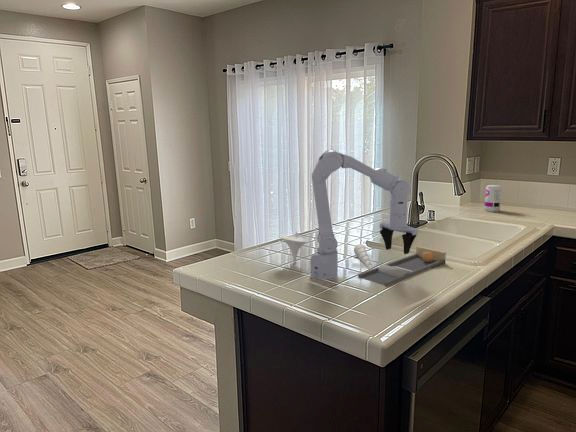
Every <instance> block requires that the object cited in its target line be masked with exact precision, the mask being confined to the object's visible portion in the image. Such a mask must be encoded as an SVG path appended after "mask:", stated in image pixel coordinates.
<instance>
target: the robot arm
mask: <svg viewBox="0 0 576 432" xmlns="http://www.w3.org/2000/svg"><path fill="white" fill-rule="evenodd" d="M341 168H342V169H352V170H354V171H356V172H358V173H360V174H362V175H364V176H366V177H368V178H369V180H370V183H372V184H373V185H375V186H377V187H379V188H381V189H383V190H385V191H387V192H389V193H390V202H389V203H390V204H389V222H379V229H380V230H379V233H380V235H381V237H382V239H383V242H384V247H385V250H387V251H389V250H391V249H392V243H393V242H392V240H393V236H394V235H393V234H394V231H395V232H398V233H399V232H400V233H403V234H402V235H401V237H402V240H403V254H404V255H408V254H409V253H410V250H411V247H412V245H413V244H414V243H413V242H414V240H415V239H416V237H417V235H418V228H416V227H413V226H409V225H407V223H408V221H407V218H408V195H409V194H410V191H411V187H410V184H409V183H408V182H407V181H406V180H404V179H401V177H400V176H399V175H398V174H395V175H394V174H393V173H392V172H391V173H390V172H389V171H387V168H385V167H382V168H381V167H377V168H372V167H370V166H369V165H368V164H366V163H363V162H361V161H359V160H358V159H357V158H355V157H353V156H351V155H348V154H344V153H342V152H338V151H336V150H334V149H328V150H325V151H324V152H323V153H322V154H321V155H320V156H319V157H318V160H317V162H316V164H315V166H314V168H313V171H312V173H311V182H312V189H313V195H314V196H313V197H314V203H315V210H316V216H317V217H316V218H317V223H318V225H317V226H318V235H317V237H316V239H317V243H318V247H317V249H316V252H315V254H313V255H311V256H310V274H308V275H309V276H311V277H314V278H317V279H320V280H322V281H326V280H330V279H333V278H335V277H338V276H341V275H343V272H340V271H339V270H338V268H339V266H338V265H339V263H338V253H339V252H338V244H339V243H338V240H337V239H336V237H335V234H334V229H333V225H332V224H333V223H332V218H331V211H330V204H329V196H328V189H327V188H328V187H327V180H328V178H329V177H330V176H331V175H332V173H334V172H336V171H338V170H339V169H341Z"/></svg>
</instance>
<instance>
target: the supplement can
mask: <svg viewBox="0 0 576 432" xmlns="http://www.w3.org/2000/svg"><path fill="white" fill-rule="evenodd" d="M484 192H485V196H484V207H483V208H484V210H485V211H486V212H489V213H498V212H499V211H500V209H501V197H502V187H501V185H500V184H499V185H498V184H487V185H486V187H485V191H484Z"/></svg>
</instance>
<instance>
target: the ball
mask: <svg viewBox="0 0 576 432" xmlns="http://www.w3.org/2000/svg"><path fill="white" fill-rule="evenodd" d="M422 259H423V261H425V262H431V261H432V259H433V255H432V253H430V252H424V253H423V255H422Z"/></svg>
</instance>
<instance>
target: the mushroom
mask: <svg viewBox="0 0 576 432" xmlns="http://www.w3.org/2000/svg"><path fill="white" fill-rule="evenodd" d="M280 239H281V240H282V241H284V243H285V244H286V245H287V246H288V247H289V250H290V252H291V255H292V259H293V261H294V263H296V262H297V256H298V253H299V250H300V249H301V248H302V246H303V245H305V244H307V243H308V240H307V239H305V238H304V237H302V236H301V235H300V234H299V233H298V231H296V232H295V233H294V234H293V235H288V236H280Z"/></svg>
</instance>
